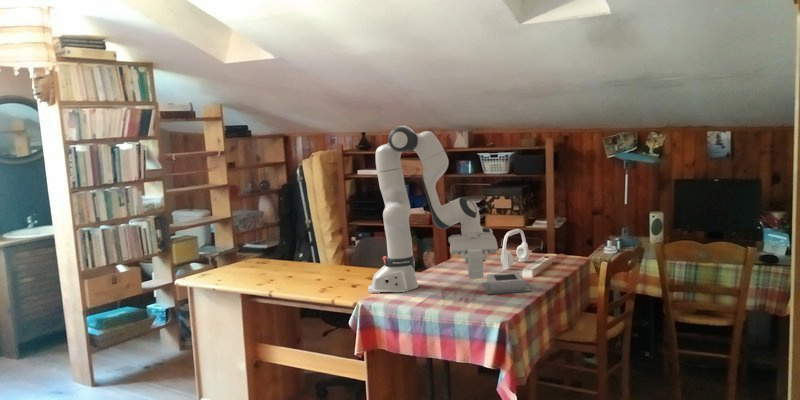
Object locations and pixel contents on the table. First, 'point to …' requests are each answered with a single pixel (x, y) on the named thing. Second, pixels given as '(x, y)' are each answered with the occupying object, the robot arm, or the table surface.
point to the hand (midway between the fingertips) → (475, 261)
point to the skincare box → (475, 263)
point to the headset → (521, 251)
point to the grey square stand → (505, 284)
